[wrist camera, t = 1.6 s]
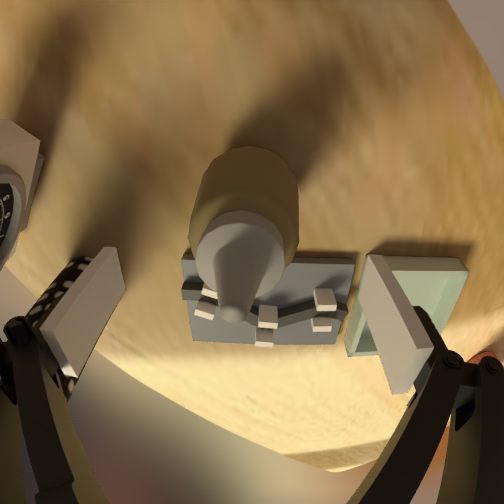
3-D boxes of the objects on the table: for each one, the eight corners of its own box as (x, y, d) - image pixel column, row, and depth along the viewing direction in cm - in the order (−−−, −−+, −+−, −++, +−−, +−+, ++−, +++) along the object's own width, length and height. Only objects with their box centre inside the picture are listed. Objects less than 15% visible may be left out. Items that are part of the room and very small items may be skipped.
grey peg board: (183, 253, 32) (174, 274, 28) (352, 258, 32) (362, 280, 28) (194, 333, 38) (189, 357, 34) (333, 337, 38) (338, 360, 34)
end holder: (365, 255, 31) (374, 270, 29) (457, 257, 31) (469, 271, 28) (343, 339, 38) (347, 356, 35) (425, 334, 37) (432, 349, 35)
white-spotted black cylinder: (121, 267, 33) (39, 409, 16) (120, 316, 37) (62, 446, 20) (64, 248, 32) (-32, 366, 15) (68, 298, 36) (-2, 411, 19)
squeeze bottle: (276, 126, 25) (301, 188, 10) (305, 205, 29) (348, 349, 13) (193, 158, 27) (103, 261, 11) (227, 231, 30) (194, 383, 15)
